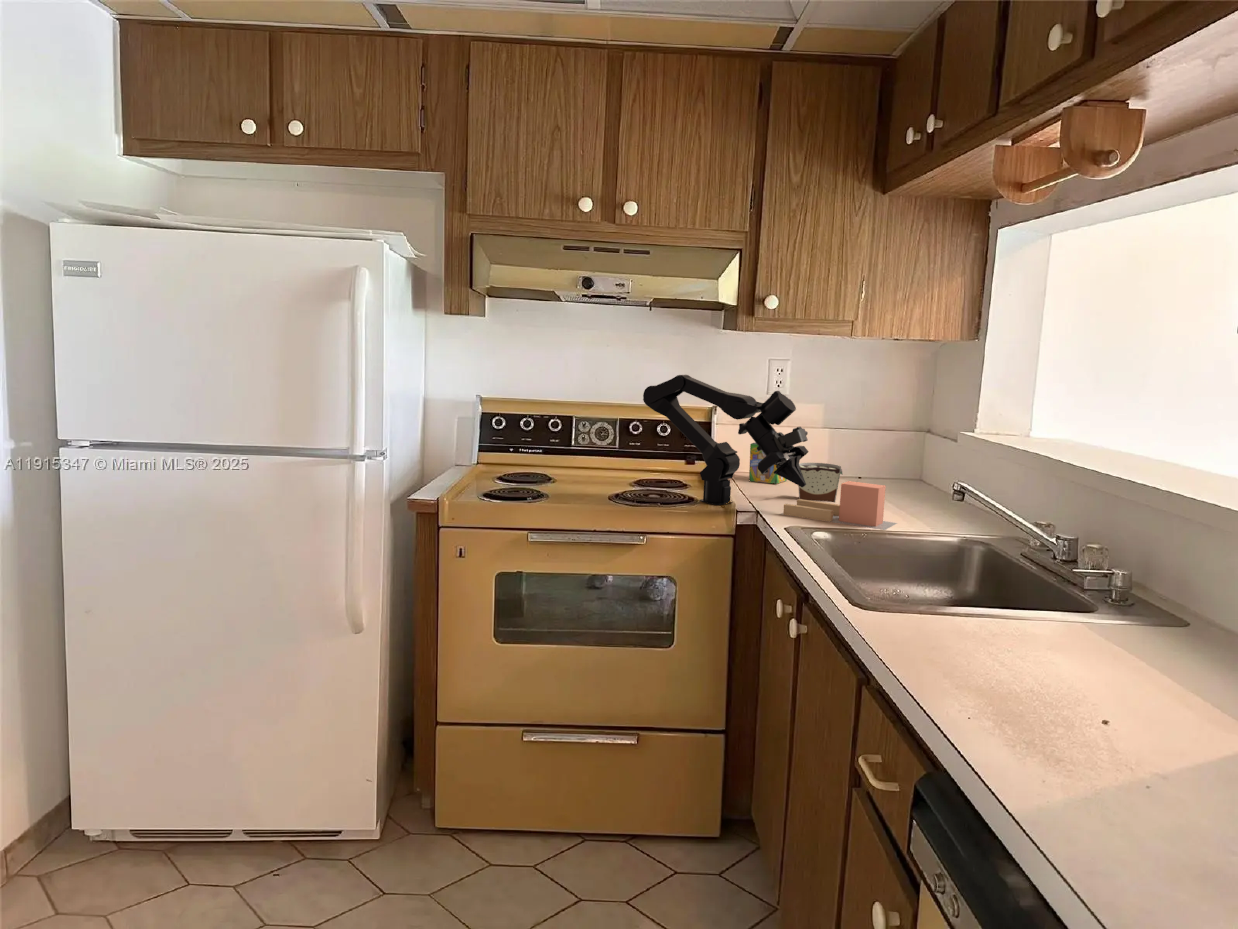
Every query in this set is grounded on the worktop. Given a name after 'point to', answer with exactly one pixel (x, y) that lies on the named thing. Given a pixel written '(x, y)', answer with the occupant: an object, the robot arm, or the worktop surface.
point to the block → (862, 503)
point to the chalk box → (756, 474)
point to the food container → (819, 481)
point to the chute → (823, 513)
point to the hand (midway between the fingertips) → (804, 486)
